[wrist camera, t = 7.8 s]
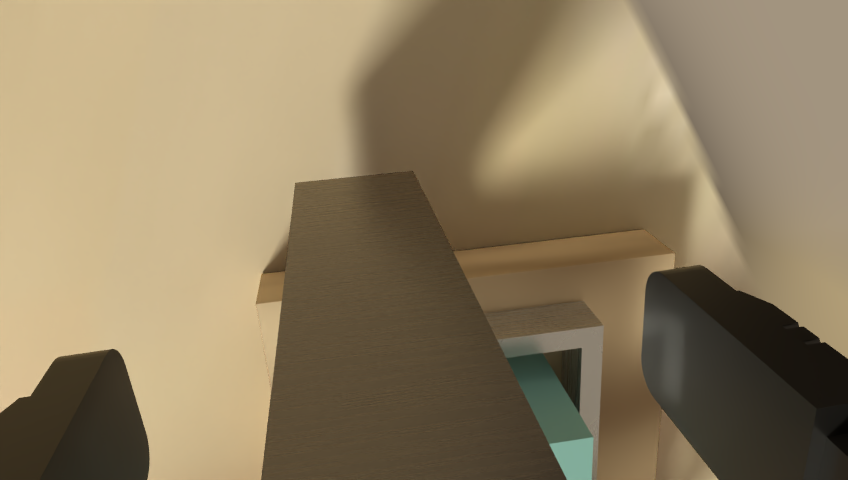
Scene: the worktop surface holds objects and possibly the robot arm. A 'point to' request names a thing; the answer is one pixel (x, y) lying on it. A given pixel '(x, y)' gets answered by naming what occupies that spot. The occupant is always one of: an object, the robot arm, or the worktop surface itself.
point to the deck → (554, 284)
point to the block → (555, 415)
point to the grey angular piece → (407, 350)
